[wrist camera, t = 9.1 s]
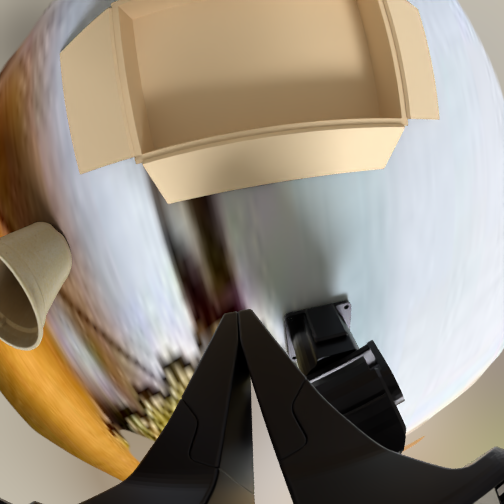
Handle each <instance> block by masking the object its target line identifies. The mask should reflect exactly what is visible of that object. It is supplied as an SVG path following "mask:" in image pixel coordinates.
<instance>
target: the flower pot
mask: <svg viewBox="0 0 504 504" xmlns="http://www.w3.org/2000/svg"><path fill="white" fill-rule="evenodd" d="M71 266H72V257H71V252H70V249H69V246H68V244H67V242H66V240H65V238H64V237H63V235H62V234H61V233H59V232H58V231H56V230H55V229H54V228H53V227H52V225H50V224H49V223H45V222H36V223H33V224H31V225H29V226H26V227H24V228H22V229H19V230H17V231H15V232H12V233H10V234H8V235H5V236H3V237H1V238H0V339H1V340H2V341H4V342H5V343H6V344H8V345H10V346H12V347H14V348H17V349H20V350H33V349H35V348H36V347H37V346H38V345H39V344H40V342H41V340H42V336H43V326H44V324H45V319H46V314H47V312H48V310H49V308H50V306H51V304H52V302H53V301H54V299H55V297H56V295H57V293H58V291H59V290H60V288H61V286H62V285H63V283H64V281H65V280H66V278H67V277H68V275H69V272H70V270H71Z"/></svg>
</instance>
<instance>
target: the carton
mask: <svg viewBox="0 0 504 504" xmlns="http://www.w3.org/2000/svg"><path fill="white" fill-rule="evenodd" d="M60 62H61V73H62V83H63V91H64V98H65V105H66V111H67V117H68V123H69V128H70V133H71V138H72V143H73V147H74V152H75V156H76V160H77V164H78V168H79V172H80V174H83V173H86V172H89V171H92V170H95V169H97V168H100V167H103V166H106V165H109V164H113V163H116V162H119V161H122V160H126V159H129V158H132V157H135V161H136V164H139V163H142V162H143V166H144V168H145V169H146V171H147V172H148V174H149V175H150V177H151V178H152V180H153V181H154V183H155V185H156V186H157V188H158V189H159V191H160V192H161V194H162V195H163V197H164V198H165V200H166V201H167V203H168V204H170V203H174V202H179V201H183V200H188V199H192V198H197V197H202V196H206V195H211V194H216V193H221V192H226V191H231V190H237V189H242V188H247V187H253V186H259V185H264V184H270V183H276V182H283V181H289V180H295V179H302V178H309V177H316V176H324V175H331V174H339V173H348V172H356V171H366V170H376V169H384V167H385V166H386V164H387V162H388V160H389V158H390V156H391V154H392V152H393V150H394V148H395V146H396V144H397V142H398V140H399V138H400V136H401V134H402V132H403V130H404V128H405V126H408V119H438V120H439V109H438V100H437V92H436V85H435V79H434V73H433V67H432V62H431V57H430V53H429V48H428V44H427V40H426V36H425V32H424V28H423V25H422V21H421V18H420V15H419V11H418V9H417V8H416V7H414V6H413V5H412V4H411V3H409V2H408V1H407V0H118V1H116V2H113V3H111V8H107V9H106V10H105V11H104V12H102V13H101V14H100V15H99V16H98V17H97V18H95V19H94V20H93V21H92V22H91V23H90V24H89V25H88V26H87V27H86V28H84V29H83V30H82V31H81V32H80V33H79V34H78V35H77V36H76V37H75V38H74V39H73V40H72V41H71V42H70V43H69V44H68V45H67V46H66V47H65V49H64V50H63V51H62V52H61V53H60Z"/></svg>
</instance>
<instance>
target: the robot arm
mask: <svg viewBox="0 0 504 504" xmlns="http://www.w3.org/2000/svg"><path fill="white" fill-rule="evenodd" d="M346 305H347V306H346ZM345 306H346V307H345ZM289 318H291V319H289ZM350 318H351V304H350V302H349V301H342V302H338V303H333V304H329V305H325V306H320V307H316V308H311V309H306V310H302V311H297V312H292V313H288V314H286V315H285V317H284V319H285V327H286V334H287V342H288V351H289V356H288V355H287V354H286V352H285V351H284V350H283V349H282V347H281V346H280V345H279V344H278V342H277V341H276V340H275V339H274V337H273V336H272V335H271V334H270V332H269V331H268V330H267V329H266V327H265V326H264V325H263V324H262V322H261V321H260V320H259V318H258V317H257V316H256V315H255V313H254V312H253V311H252V310H251V309H247V310H241V311H239V312H238V313H237V312H230V313H226V314H224V315H223V317H222V319H221V321H220V323H219V325H218V327H217V329H216V331H215V333H214V335H213V337H212V339H211V341H210V343H209V345H208V347H207V349H206V351H205V353H204V355H203V356H202V358H201V360H200V362H199V364H198V366H197V368H196V370H195V372H194V374H193V376H192V378H191V380H190V382H189V384H188V386H187V388H186V390H185V392H184V393H183V395H182V399H180V401H179V403H178V405H177V407H176V409H175V411H174V412H173V414H172V416H171V418H170V420H169V421H168V423H167V425H166V426H165V428H164V429H163V431H162V432H161V434H160V435H159V437H158V438H157V440H156V441H155V443H154V444H153V446H152V447H151V448H150V450H149V451H148V453H147V454H146V455H145V457H144V458H143V460H142V461H141V462H140V464H139V465H138V467H137V468H136V469H135V470H134V472H133V473H132V474H131V475H130V476H129V477H128V478H127V479H125V480H124V481H123V482H121V483H120V484H118V485H116V486H114V487H112V488H110V489H108V490H107V491H104V492H103V493H100V494H98V495H96V496H94V497H92V498H90V499H88V500H86V501H84V502H81V503H79V504H255V502H254V500H255V499H254V495H253V494H254V472H253V441H252V411H251V410H252V409H251V381H250V380H252V383H253V387H254V390H255V393H256V396H257V399H258V402H259V405H260V408H261V412H262V415H263V418H264V421H265V424H266V427H267V430H268V433H269V436H270V439H271V442H272V444H273V448H274V450H275V453H276V456H277V459H278V461H279V464H280V468H281V470H282V473H283V476H284V478H285V481H286V484H287V487H288V490H289V493H290V495H291V498H292V501H293V504H504V449H502V448H499V447H494V448H492V449H490V450H489V451H487V452H486V453H484V454H483V455H482V456H480V457H478V458H477V459H475V460H474V461H472V462H471V463H469V464H468V465H466V466H464V467H463V468H458V469H451V468H445V467H441V466H437V465H434V464H430V463H426V462H423V461H420V460H417V459H414V458H411V457H408V456H405V455H402V454H401V453H402V451H403V450H404V445H405V438H406V436H405V434H406V426H405V424H404V422H403V420H402V417H401V415H400V413H399V411H398V409H397V406H396V405H398V404H400V403H402V402H403V401H405V400H404V397H403V394H402V392H401V390H400V388H399V386H398V383H397V381H396V379H395V377H394V375H393V374H392V372H391V370H390V368H389V366H388V364H387V363H386V361H385V359H384V358H383V356H382V354H381V353H380V351H379V350H378V348H377V346H376V345H375V343H374V341H373V340H371V341H370V342H368V343H367V345H365V346H363V347H361V348H360V349H359V347H358V345H357V343H356V341H355V339H354V337H353V335H352V333H351V332H350ZM294 356H295V357H294ZM293 361H297V362H298V366H299V368H298V367H297V366H296V365H295V363H294V362H293ZM250 377H251V379H250ZM0 504H11V503H9V502H7V501H5V500H3V499H1V498H0ZM30 504H42V503H39V502H36V501H34V502H32V503H30Z"/></svg>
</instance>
